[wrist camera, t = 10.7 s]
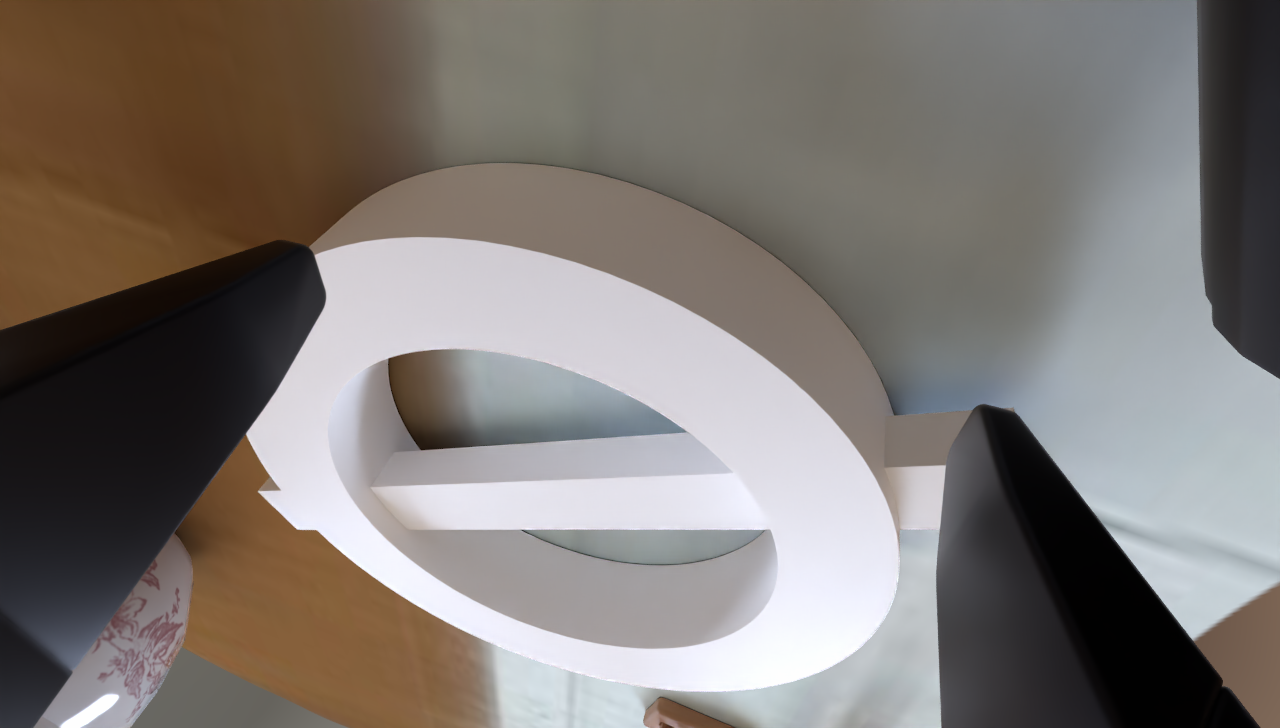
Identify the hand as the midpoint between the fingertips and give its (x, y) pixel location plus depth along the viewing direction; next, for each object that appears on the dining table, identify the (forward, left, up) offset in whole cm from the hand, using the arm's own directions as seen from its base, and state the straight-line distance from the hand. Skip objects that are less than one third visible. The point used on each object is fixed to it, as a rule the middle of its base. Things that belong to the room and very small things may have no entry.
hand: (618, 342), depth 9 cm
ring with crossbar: (+5, +19, -13) cm, 24 cm away
